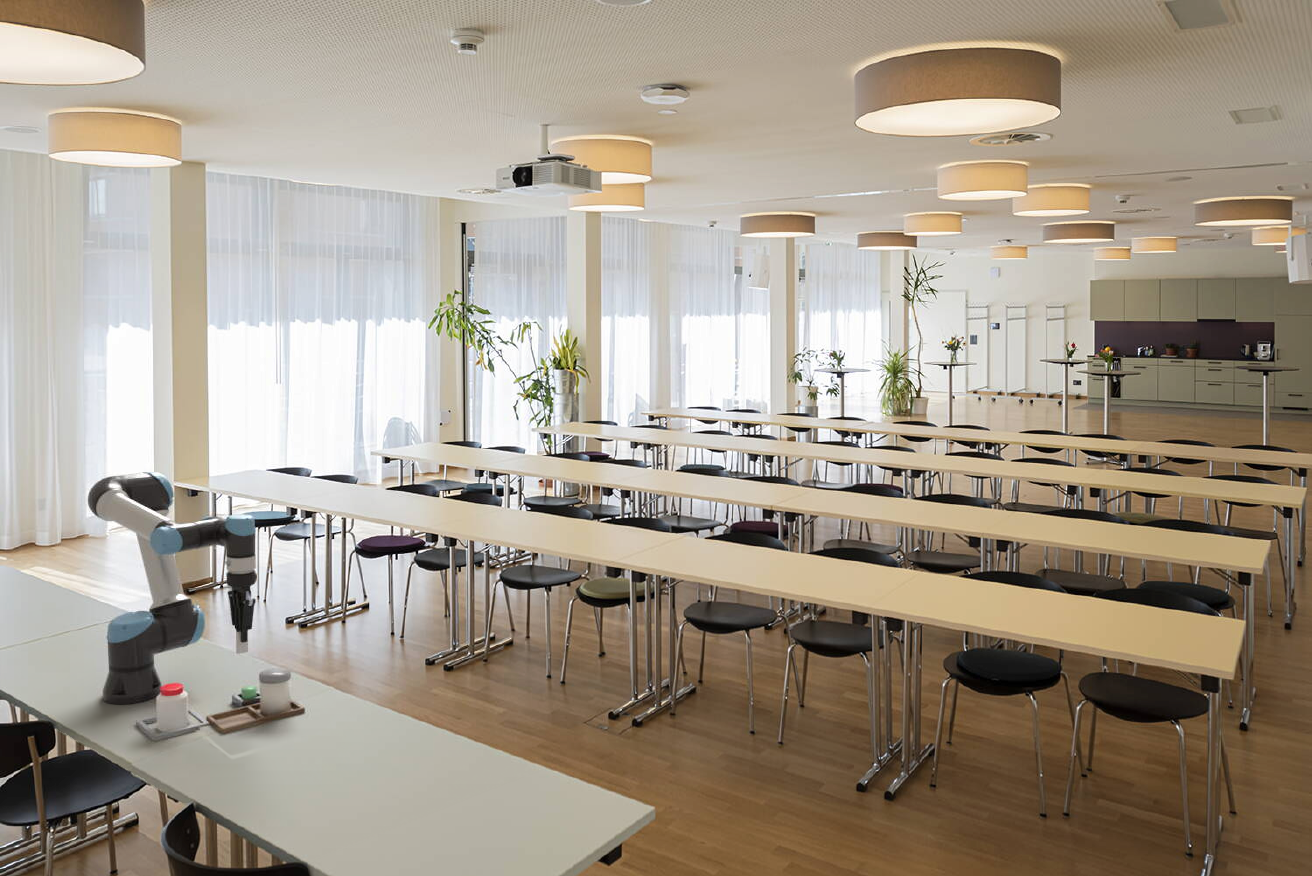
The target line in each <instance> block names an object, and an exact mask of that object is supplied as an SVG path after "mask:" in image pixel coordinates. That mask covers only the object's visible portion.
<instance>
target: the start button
mask: <svg viewBox="0 0 1312 876" xmlns="http://www.w3.org/2000/svg"><path fill="white" fill-rule="evenodd" d="M257 688H258V687H257V686H255V685H248V686H244V687H242V688H241V692H242V699H243V700H246V699H250V698H254V697H257V690H258V689H257Z"/></svg>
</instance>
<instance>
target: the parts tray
mask: <svg viewBox="0 0 1312 876" xmlns="http://www.w3.org/2000/svg"><path fill="white" fill-rule="evenodd" d="M188 712H189V714H191V715H193V717H195V718H196V719H197V720H198V721H200V722H201V723H198V724H193V725H190V726H189V725H188V726H187V727H185V728H181V729H177V730H173V731H169V732H162V733H158V734H157V733H156V732H155V731H153V730H152V728H150V727H149V726H148V725H147V724H150V723H156V722H157V715H154V716H148V717H144V718H141V719H137V720H136V721H135V723H136V724H135V725H136V726H137V727H138V728H139V729H140V730H141V731H143V733H145V734H146V735H147V736H148V738H150V739H151V740H152V741H154V742H156V741H160V740H164V739H168V738H172V737H176V736H179V735H180V734H181V735H183V733H184V734H188V733H192V732H195V731H200V730H201V728H200V727H204V726H208V725H211V724H210V723H209V722H208V721H207V720H206V718H204V717H203V716H201V715H200V714H199V713H198V712H197V711H195V709H193V708H192V707H188Z"/></svg>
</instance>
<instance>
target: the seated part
mask: <svg viewBox="0 0 1312 876" xmlns="http://www.w3.org/2000/svg"><path fill="white" fill-rule="evenodd" d="M291 675H292V674H291V669H288V668H286V667H274V668H268V669H264V670H262V671H261V672H259V673H258V680H259V691H260V714H262V715H263V716H271V715H275V714H279V713H283V712H287V711H290V710H291V699H292V697H291V695H292V694H291V688H292V687H291V678H292V677H291Z"/></svg>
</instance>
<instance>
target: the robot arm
mask: <svg viewBox="0 0 1312 876" xmlns="http://www.w3.org/2000/svg"><path fill="white" fill-rule="evenodd" d="M174 495H175V494H174V490H173V486H172V484H171V482H170V481H169V479H168V478H167V477H166V476H165V475H164V474H162V473H161V472H157V471H151V472H148V471H147V472H146V471H143V472H139V473H137V472H136V473H130V474H122V475H112V476H108V477H107V476H106V477H104V478H101V479H100V480H99V481H97V482H96V483H95V484H94V485H92V487H91V488H90V490H89V492H88V496H87V505H88V507H89V509H90V512H92V513H93V515H95V517H97V518H99V519H101V520H103V521H104V522H114V523H116V524H118V525H120V526H122V527H124V528H126V529H127V530H129V531H131V532H132V533H135V534H136V538H137V543H138V547H139V551H140V555H141V559H142V562H143V563H142V564H143V566H144V567H143V568H144V572H145V574H146V575H145V576H146V578H147V583H148V587H149V592H150V595H151V601H152V603H151V605H150V606H149V608H148V610H137V611H130V612H126V613H121V614H120V615H118V616H116V617H114V618H113V619H112V620H111V621H110V622H109V624H108V625H107V632H106V633H107V634H106V639H107V655H108V657H107V658H108V659H107V660H108V662H107V663H108V673H107V676H106V680H105V683H104V685H103V689H102V700H103V701H104V702H106V703H108V704H112V705H114V704H115V705H129V704H135V703H136V704H137V703H141V702H146V701H149V700H152V699H154V698H156V697H157V696H158V695H159V694H160V693H161V687H162V686H163V685H162V681H161V680H160V677H159V674H158V672H157V669H156V667H155V655H158V654H161V653H166V652H168V651H173V650H175V649H179V648H185V647H188V646H190V645H192V644H196V643H197V642H198V641H199V640H200V639H201V638H202V637H203V633H204V631H205V628H206V619H205V618H206V617H205V612H203V611H204V610H203V609H202V608H201V607H200V605H198V604H196V603H195V604H194V603H193V602H192V598H191V597H190V596H188V595H186V594H185V593H184V588H183V585H182V579H181V577H180V573H179V568H178V564H177V559H176V557H175V554H177V553H182V552H187V551H191V550H197V549H203V548H209V547H214V546H221V547H224V548H225V557H226V560H225V562H224V564H225V565H226V571H227V572H226V585H227V586H229V587H231V590H228V591H227V596H228V601H229V608H230V618H231V619H230V620H231V625H232V626H233V627H234V629H235V648H236V649H235V650H236V651H235V653H236V654H238V655H240V654H245V653H249V631H250V630H253V629H252V628H253V620H254V613H255V611H254V610H255V605H256V602H257V601H256V598H252V591H251V586H252V585H255V584H256V580H257V577H256V574H257V573H256V570H255V569H256V568H257V567H256V565H257V559H256V558H257V557H256V531H257V528H256V526H255V518H254V516H253V515H251V514H244V513H242V514H231V515H228V516H226V518H224V517H223V518H222V517H219V516H212V515H211V516H210V515H207V516H204V517H203V518H202V519H200V520H198V521H192V522H191V521H190V522H185V523H178V522H177V521H175V520H172V519H171V518H168V517H167V516H168V514H169V513H170V508H171V506H172V505H173V503H174Z"/></svg>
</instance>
